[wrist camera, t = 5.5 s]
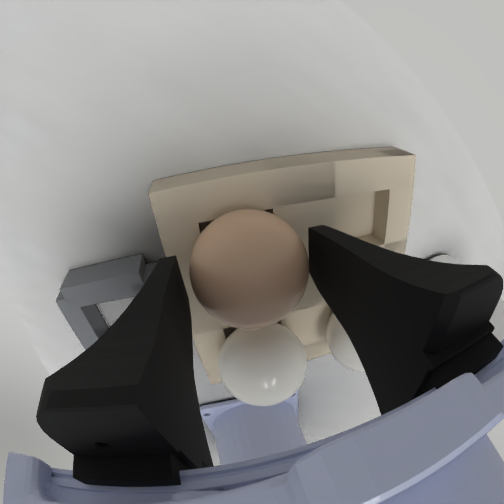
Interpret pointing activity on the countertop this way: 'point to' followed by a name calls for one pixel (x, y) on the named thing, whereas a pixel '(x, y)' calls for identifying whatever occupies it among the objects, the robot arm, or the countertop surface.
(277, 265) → the brown egg
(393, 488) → the robot arm
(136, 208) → the countertop surface
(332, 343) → the white egg
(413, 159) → the carton
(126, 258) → the egg stand
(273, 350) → the white egg
